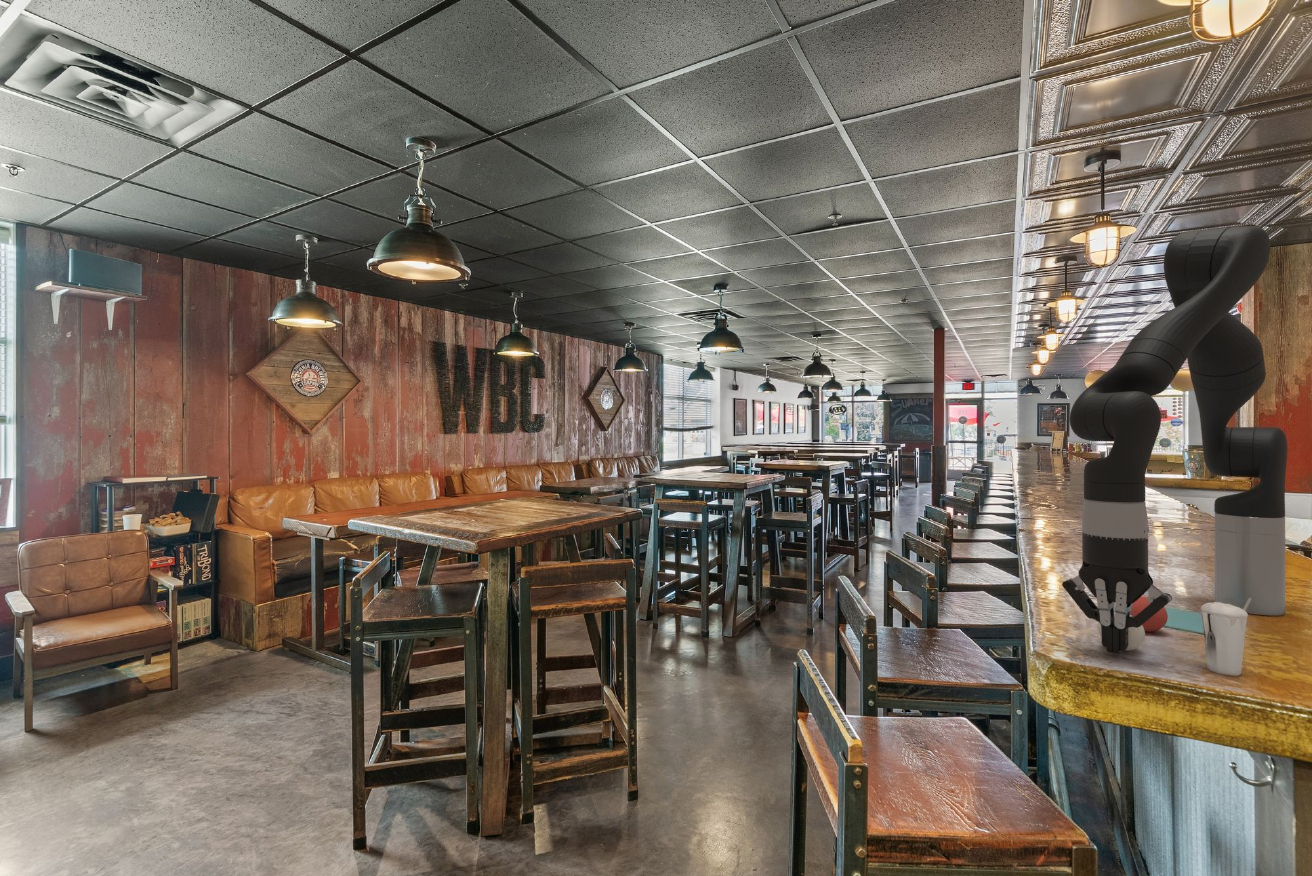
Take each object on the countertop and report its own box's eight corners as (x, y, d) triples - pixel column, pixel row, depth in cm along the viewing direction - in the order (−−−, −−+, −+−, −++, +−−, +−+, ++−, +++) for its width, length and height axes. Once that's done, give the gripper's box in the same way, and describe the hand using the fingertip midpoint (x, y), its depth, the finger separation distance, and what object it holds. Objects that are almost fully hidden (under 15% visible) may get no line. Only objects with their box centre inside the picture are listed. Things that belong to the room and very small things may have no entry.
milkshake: (1264, 679, 78) (1264, 602, 78) (1216, 676, 79) (1216, 600, 79) (1238, 666, 82) (1237, 593, 82) (1192, 663, 83) (1192, 591, 83)
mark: (1124, 601, 115) (1124, 600, 115) (1224, 618, 104) (1224, 617, 104) (1102, 615, 106) (1102, 613, 106) (1209, 635, 95) (1209, 633, 95)
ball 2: (1133, 623, 101) (1133, 590, 101) (1174, 632, 96) (1174, 598, 96) (1117, 628, 98) (1117, 595, 98) (1158, 638, 94) (1158, 603, 94)
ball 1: (1109, 641, 92) (1109, 605, 92) (1152, 652, 88) (1152, 614, 88) (1090, 646, 90) (1090, 610, 90) (1134, 658, 85) (1134, 619, 85)
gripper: (1052, 529, 89) (1053, 645, 89) (1167, 541, 78) (1168, 672, 79) (1069, 523, 93) (1070, 634, 94) (1180, 534, 83) (1181, 658, 83)
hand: (1115, 651), depth 86 cm, fingers closed
